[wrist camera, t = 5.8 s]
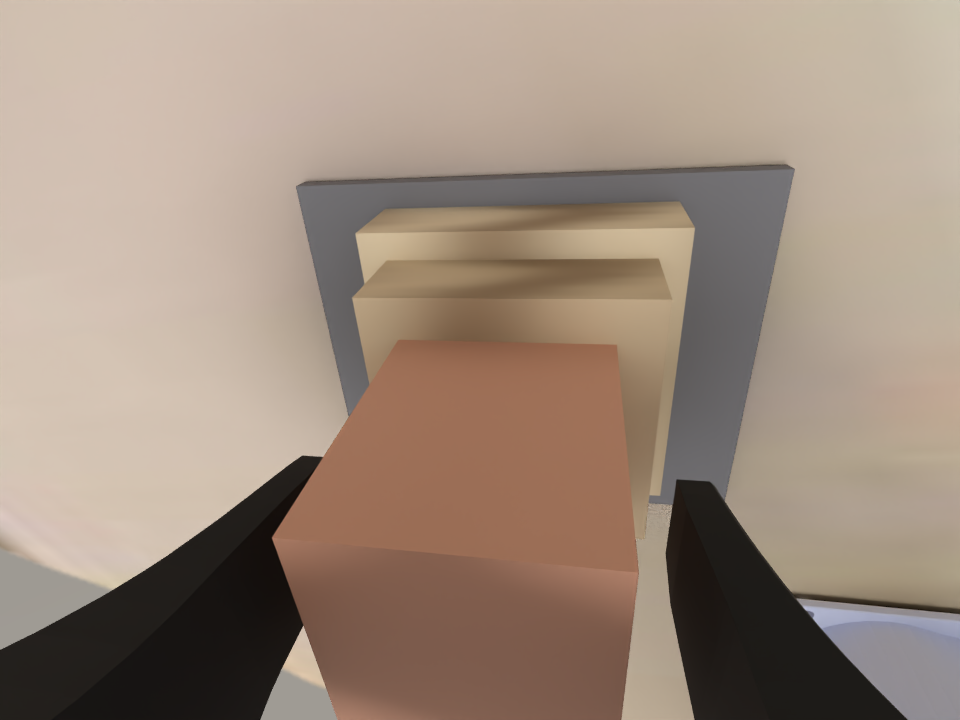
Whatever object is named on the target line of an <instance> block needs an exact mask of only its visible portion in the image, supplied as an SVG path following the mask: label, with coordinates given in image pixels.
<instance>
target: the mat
mask: <svg viewBox="0 0 960 720" xmlns="http://www.w3.org/2000/svg"><path fill="white" fill-rule="evenodd" d="M794 170H795V169H793V168H792V167H790V166H788V165H768V166H740V167H712V168H684V169H656V170H628V171H600V172H572V173H544V174H516V175H488V176H460V177H432V178H404V179H376V180H348V181H320V182H304V183H302V184H300V185H298V186H296V189H297V193H298V198H299V202H300V206H301V211H302V215H303V219H304V224H305V228H306V232H307V237H308V241H309V245H310V250H311V254H312V259H313V263H314V267H315V272H316V276H317V280H318V285H319V289H320V293H321V298H322V302H323V306H324V311H325V315H326V319H327V324H328V328H329V333H330V337H331V341H332V346H333V350H334V354H335V359H336V363H337V367H338V372H339V376H340V380H341V385H342V389H343V393H344V398H345V402H346V407H347V411H348V415H349V416H350V415H351V413H352V411H353V410H354V408H355V407H356V405H357V404H358V402H359V401H360V399H361V397H362V396H363V394H364V393H365V391H366V390H367V388H368V386H369V380H368V375H367V370H366V365H365V360H364V355H363V350H362V345H361V340H360V335H359V330H358V325H357V320H356V315H355V310H354V305H353V300H352V297H353V296H354V295H355V294H356V293H357V292H358V291H359V290H360V289H361V288H362V287H363V285H364V278H363V273H362V267H361V262H360V256H359V251H358V246H357V240H356V235H355V233H356V232H358V231H359V230H360V229H361V228H363V227H364V226H365V225H366V224H367V223H369V222H370V221H371V220H372V219H374V218H375V217H376V216H377V215H378V214H380V213H381V212H382V211H383V210H385V209H399V208H439V207H478V206H518V205H557V204H596V203H636V202H675V201H680V203H681V204H682V206H683V208H684V210H685V211H686V213H687V215H688V216H689V218H690V220H691V222H692V223H693V225H694V227H695V232H694V240H693V247H692V255H691V263H690V270H689V278H688V286H687V293H686V301H685V309H684V316H683V324H682V332H681V339H680V347H679V355H678V362H677V370H676V378H675V385H674V393H673V401H672V408H671V416H670V424H669V431H668V439H667V447H666V454H665V462H664V470H663V477H662V485H661V493H660V496H655V495H649V503H655V504H669V505H673V500H674V493H675V487H676V480H677V479H680V480H696V481H710V482H711V483H712V484H713V485H714V486H715V487H716V488H717V490H718V492H719V493H720V495H721V496H722V498H723V499H724V501H725V497H726V492H727V487H728V482H729V478H730V473H731V468H732V463H733V459H734V454H735V449H736V445H737V440H738V435H739V430H740V426H741V421H742V416H743V411H744V407H745V402H746V397H747V392H748V388H749V383H750V378H751V373H752V369H753V364H754V359H755V354H756V350H757V345H758V340H759V336H760V331H761V326H762V321H763V317H764V312H765V307H766V302H767V298H768V293H769V288H770V283H771V279H772V274H773V269H774V264H775V260H776V255H777V250H778V246H779V241H780V236H781V231H782V227H783V222H784V217H785V212H786V208H787V203H788V198H789V193H790V189H791V184H792V179H793V174H794Z"/></svg>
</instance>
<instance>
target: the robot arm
mask: <svg viewBox="0 0 960 720" xmlns="http://www.w3.org/2000/svg"><path fill="white" fill-rule="evenodd" d="M322 458H323V457H315V456H301V457H300V458H298V459H297V460H295V461H294V462H293V463H291V464H290V465H288V466H287V467H286V468H285V469H283V470H282V471H281V472H279V473H278V474H277V475H275V476H274V477H273V478H272V479H270V480H269V481H268V482H266V483H265V484H264V485H263V486H261V487H260V488H259V489H257V490H256V491H255V492H254V493H252V494H251V495H250V496H248V497H247V498H246V499H244V500H243V501H242V502H241V503H239V504H238V505H237V506H235V507H234V508H233V509H231V510H230V511H229V512H227V513H226V514H225V515H224V516H222V517H221V518H220V519H218V520H217V521H216V522H214V523H213V524H211V525H210V526H209V527H207V528H206V529H204V530H203V531H202V532H200V533H199V534H197V535H196V536H194V537H193V538H192V539H190V540H189V541H187V542H186V543H185V544H183V545H182V546H180V547H179V548H178V549H176V550H175V551H173V552H172V553H171V554H169V555H168V556H166V557H165V558H163V559H162V560H160V561H159V562H157V563H156V564H154V565H152V566H151V567H149V568H148V569H146V570H145V571H143V572H142V573H140V574H138V575H137V576H135V577H133V578H132V579H130V580H129V581H127V582H125V583H124V584H122V585H120V586H119V587H117V588H115V589H114V590H112V591H110V592H109V593H107V594H105V595H104V596H102V597H100V598H98V599H97V600H95V601H93V602H91V603H89V604H87V605H86V606H84V607H82V608H80V609H79V610H77V611H75V612H73V613H71V614H69V615H67V616H65V617H64V618H62V619H60V620H58V621H56V622H55V623H53V624H51V625H49V626H47V627H45V628H43V629H41V630H39V631H38V632H36V633H34V634H32V635H30V636H27V637H26V638H24V639H21V640H20V641H17V642H15V643H13V644H11V645H9V646H8V647H5V648H3V649H1V650H0V720H260V719H261V716H262V714H263V711H264V708H265V706H266V704H267V701H268V698H269V696H270V693H271V691H272V689H273V686H274V684H275V682H276V680H277V678H278V676H279V673H280V671H281V669H282V667H283V665H284V663H285V661H286V659H287V657H288V655H289V653H290V651H291V649H292V647H293V645H294V643H295V641H296V639H297V637H298V635H299V633H300V631H301V629H302V627H303V622H302V620H301V617H300V614H299V611H298V608H297V606H296V603H295V600H294V597H293V595H292V592H291V589H290V586H289V584H288V581H287V578H286V575H285V573H284V570H283V567H282V564H281V562H280V559H279V556H278V553H277V550H276V548H275V545H274V542H273V539H272V537H273V535H274V534H275V532H276V531H277V529H278V527H279V526H280V524H281V523H282V521H283V520H284V518H285V516H286V515H287V513H288V512H289V510H290V509H291V507H292V505H293V504H294V502H295V501H296V499H297V498H298V496H299V494H300V493H301V491H302V490H303V488H304V487H305V485H306V484H307V482H308V480H309V479H310V477H311V476H312V474H313V473H314V471H315V469H316V468H317V466H318V465H319V463H320V462H321V460H322ZM666 562H667V573H668V584H669V594H670V603H671V609H672V614H673V619H674V624H675V629H676V633H677V638H678V643H679V648H680V653H681V657H682V662H683V667H684V672H685V676H686V681H687V686H688V690H689V695H690V700H691V705H692V709H693V714H694V719H695V720H960V614H953V613H943V612H932V611H922V610H912V609H901V608H891V607H881V606H870V605H860V604H850V603H840V602H829V601H819V600H809V599H798V598H795V597H794V595H793V594H792V593H791V592H790V590H789V589H788V588H787V587H786V586H785V584H784V583H783V582H782V580H781V579H780V578H779V576H778V575H777V574H776V573H775V571H774V570H773V569H772V567H771V566H770V565H769V563H768V562H767V561H766V559H765V558H764V557H763V556H762V554H761V553H760V552H759V550H758V549H757V547H756V546H755V545H754V543H753V542H752V541H751V539H750V538H749V536H748V535H747V533H746V532H745V531H744V529H743V528H742V526H741V525H740V523H739V522H738V521H737V519H736V518H735V516H734V515H733V513H732V512H731V510H730V509H729V507H728V506H727V504H726V503H725V501H724V499H723V498H722V496H721V495H720V493H719V492H718V490H717V488H716V487H715V486H714V485H713V484H712V483H711V482H710V481H696V480H680V479H677V480H676V487H675V493H674V500H673V507H672V514H671V520H670V527H669V534H668V541H667V547H666Z"/></svg>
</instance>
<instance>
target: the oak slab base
mask: <svg viewBox="0 0 960 720" xmlns="http://www.w3.org/2000/svg"><path fill="white" fill-rule="evenodd" d="M694 232H695V227H694V225H693V223H692V222H691V220H690V218H689V216H688V215H687V213H686V211H685V210H684V208H683V206H682V204H681V203H680V201H675V202H636V203H596V204H557V205H518V206H478V207H439V208H399V209H385V210H383V211H382V212H381V213H380V214H378V215H377V216H376V217H375V218H374V219H372V220H371V221H370V222H369V223H367V224H366V225H365V226H364V227H363V228H361V229H360V230H359V231H358V232H356V233H355V235H356V240H357V246H358V251H359V256H360V262H361V267H362V273H363V278H364V284H365V283H366V282H367V281H368V280H369V279H370V278H371V277H372V276H373V275H374V274H375V273H376V271H377V270H378V269H379V268H380V267H381V266H382V265H383V264H384V263H385V262H386V261H387V260H525V259H659V261H660V264H661V267H662V270H663V273H664V276H665V279H666V282H667V285H668V288H669V291H670V294H671V297H672V307H671V315H670V324H669V332H668V341H667V349H666V358H665V367H664V375H663V384H662V392H661V401H660V409H659V418H658V426H657V435H656V443H655V452H654V460H653V469H652V477H651V486H650V494H649V495H655V496H660V493H661V485H662V477H663V470H664V462H665V454H666V447H667V439H668V431H669V424H670V416H671V408H672V401H673V393H674V385H675V378H676V370H677V362H678V355H679V347H680V339H681V332H682V324H683V316H684V309H685V301H686V293H687V286H688V278H689V270H690V263H691V255H692V247H693V240H694Z"/></svg>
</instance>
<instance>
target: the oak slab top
mask: <svg viewBox="0 0 960 720" xmlns="http://www.w3.org/2000/svg"><path fill="white" fill-rule="evenodd" d="M352 300H353V305H354V310H355V315H356V320H357V325H358V330H359V335H360V340H361V345H362V350H363V355H364V360H365V365H366V370H367V375H368V380H369V385H370V383H371V382H372V380H373V379H374V377H375V375H376V374H377V372H378V371H379V369H380V368H381V366H382V365H383V363H384V361H385V360H386V358H387V357H388V355H389V354H390V352H391V350H392V349H393V347H394V346H395V344H396V343H397V341H398V340H434V341H477V342H521V343H565V344H608V345H617V352H618V363H619V373H620V383H621V394H622V404H623V414H624V425H625V435H626V446H627V456H628V466H629V477H630V487H631V498H632V508H633V518H634V529H635V538H637V539H644V537H645V529H646V520H647V512H648V503H649V494H650V486H651V477H652V469H653V460H654V452H655V443H656V435H657V426H658V418H659V409H660V401H661V392H662V384H663V375H664V367H665V358H666V349H667V341H668V332H669V324H670V315H671V307H672V297H671V294H670V291H669V288H668V285H667V282H666V279H665V276H664V273H663V270H662V267H661V264H660V261H659V259H525V260H387V261H386V262H385V263H384V264H383V265H382V266H381V267H380V268H379V269H378V270H377V271H376V273H375V274H374V275H373V276H372V277H371V278H370V279H369V280H368V281H367V282H366V283H365V284H364V285H363V287H362V288H361V289H360V290H359V291H358V292H357V293H356V294H355V295H354V296H353V297H352Z"/></svg>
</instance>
